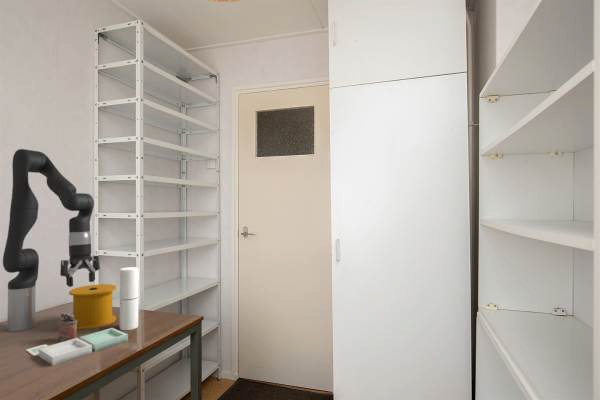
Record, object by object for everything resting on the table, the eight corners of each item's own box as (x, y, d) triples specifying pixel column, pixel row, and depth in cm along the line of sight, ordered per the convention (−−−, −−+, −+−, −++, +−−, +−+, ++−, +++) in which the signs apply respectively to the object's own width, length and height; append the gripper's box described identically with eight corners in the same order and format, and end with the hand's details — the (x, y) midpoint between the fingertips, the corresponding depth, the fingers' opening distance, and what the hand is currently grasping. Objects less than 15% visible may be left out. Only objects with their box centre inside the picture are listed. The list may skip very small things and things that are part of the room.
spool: (90, 314, 165) (90, 283, 165) (124, 316, 162) (125, 284, 162) (58, 328, 147) (58, 292, 147) (96, 330, 144) (96, 294, 144)
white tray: (38, 355, 120) (38, 348, 120) (76, 344, 130) (76, 337, 130) (52, 365, 113) (52, 357, 113) (91, 352, 123) (91, 345, 123)
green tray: (79, 343, 131) (79, 337, 131) (112, 333, 141) (112, 327, 141) (94, 351, 124) (94, 344, 124) (127, 340, 134) (127, 334, 134)
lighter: (79, 339, 135) (79, 313, 135) (71, 342, 132) (71, 316, 132) (64, 336, 138) (64, 311, 138) (55, 339, 134) (56, 314, 134)
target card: (25, 350, 125) (25, 349, 125) (45, 344, 129) (45, 343, 129) (34, 356, 120) (34, 355, 120) (54, 350, 125) (54, 349, 125)
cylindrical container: (130, 330, 144) (131, 270, 144) (115, 329, 145) (116, 269, 146) (141, 324, 151) (142, 267, 151) (127, 323, 152) (127, 266, 153)
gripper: (91, 241, 146) (92, 280, 146) (55, 245, 133) (56, 287, 133) (103, 241, 143) (104, 280, 143) (67, 245, 130) (69, 288, 130)
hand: (81, 284), depth 138 cm, fingers open, 8 cm apart
